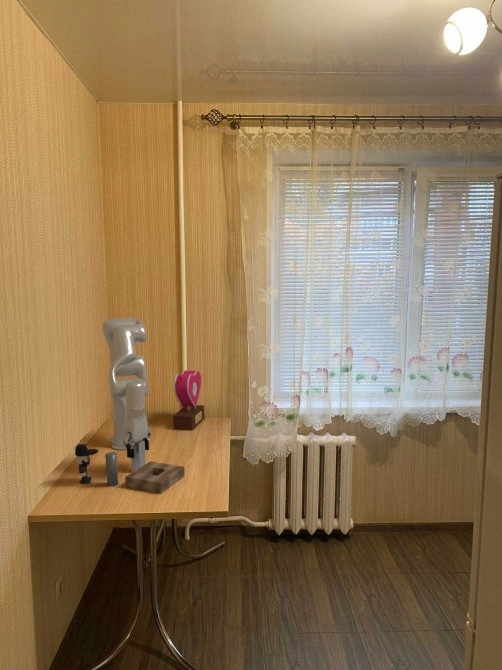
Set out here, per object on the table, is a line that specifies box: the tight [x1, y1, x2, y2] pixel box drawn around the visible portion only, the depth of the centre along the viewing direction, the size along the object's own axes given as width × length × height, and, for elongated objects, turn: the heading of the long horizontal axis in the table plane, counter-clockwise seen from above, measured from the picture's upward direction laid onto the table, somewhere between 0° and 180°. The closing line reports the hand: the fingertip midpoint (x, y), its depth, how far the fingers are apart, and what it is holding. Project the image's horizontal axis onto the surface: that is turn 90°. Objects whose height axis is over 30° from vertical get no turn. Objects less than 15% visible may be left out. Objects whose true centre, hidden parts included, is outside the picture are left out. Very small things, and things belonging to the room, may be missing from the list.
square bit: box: [130, 439, 147, 472], centre depth 192 cm, size 4×4×12 cm
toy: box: [74, 443, 99, 484], centre depth 181 cm, size 8×8×15 cm
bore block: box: [124, 461, 185, 495], centre depth 181 cm, size 16×16×4 cm
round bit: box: [104, 451, 119, 487], centre depth 178 cm, size 4×4×12 cm
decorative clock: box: [172, 369, 206, 432], centre depth 250 cm, size 25×10×30 cm, turn 168°
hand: (138, 453), depth 191 cm, fingers open, 9 cm apart
